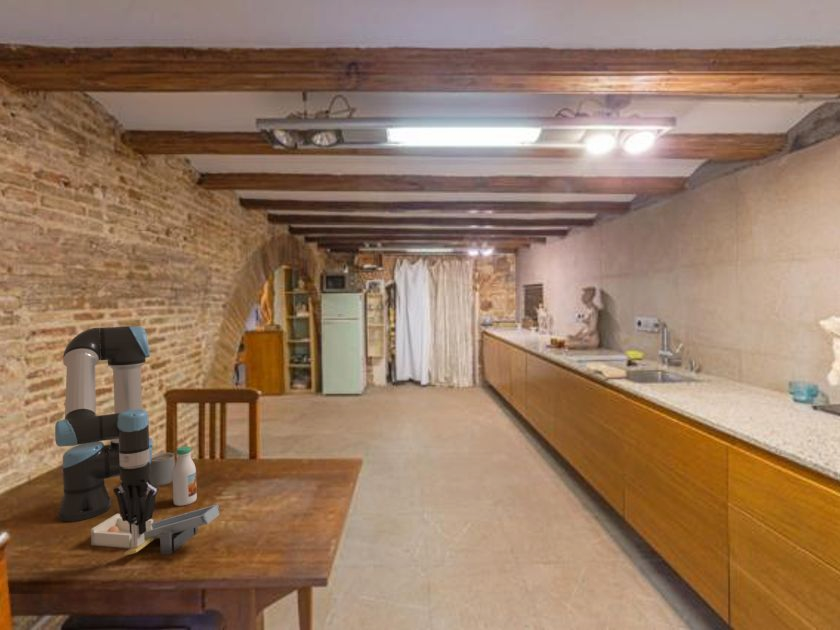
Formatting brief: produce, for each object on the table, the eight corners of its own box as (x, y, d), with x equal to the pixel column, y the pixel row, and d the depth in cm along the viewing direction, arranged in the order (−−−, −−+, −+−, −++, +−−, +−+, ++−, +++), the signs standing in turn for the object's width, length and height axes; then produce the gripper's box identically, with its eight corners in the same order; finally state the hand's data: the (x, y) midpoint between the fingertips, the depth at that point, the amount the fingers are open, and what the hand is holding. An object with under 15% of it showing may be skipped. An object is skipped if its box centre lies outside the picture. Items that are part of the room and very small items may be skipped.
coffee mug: (180, 476, 192) (179, 453, 191) (163, 486, 182) (162, 461, 181) (152, 474, 194) (151, 451, 194) (134, 484, 184) (133, 459, 184)
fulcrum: (160, 554, 134) (159, 532, 134) (188, 531, 147) (188, 511, 147) (169, 555, 134) (169, 533, 133) (197, 532, 146) (196, 512, 146)
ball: (103, 530, 142) (111, 528, 142) (111, 525, 145) (119, 523, 145) (106, 539, 142) (114, 537, 142) (114, 534, 145) (122, 532, 145)
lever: (119, 557, 131) (115, 547, 131) (158, 529, 147) (155, 520, 147) (190, 538, 127) (187, 527, 127) (223, 511, 143) (220, 502, 143)
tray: (91, 545, 139) (90, 529, 139) (117, 528, 149) (117, 513, 149) (129, 548, 137) (128, 532, 137) (153, 531, 147) (153, 516, 147)
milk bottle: (181, 508, 163) (179, 453, 162) (169, 503, 167) (167, 449, 166) (201, 499, 170) (199, 446, 169) (189, 495, 174) (187, 443, 173)
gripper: (103, 468, 130) (107, 549, 130) (146, 470, 128) (149, 552, 128) (124, 459, 137) (128, 536, 138) (164, 460, 135) (168, 538, 136)
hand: (138, 544), depth 133 cm, fingers closed
